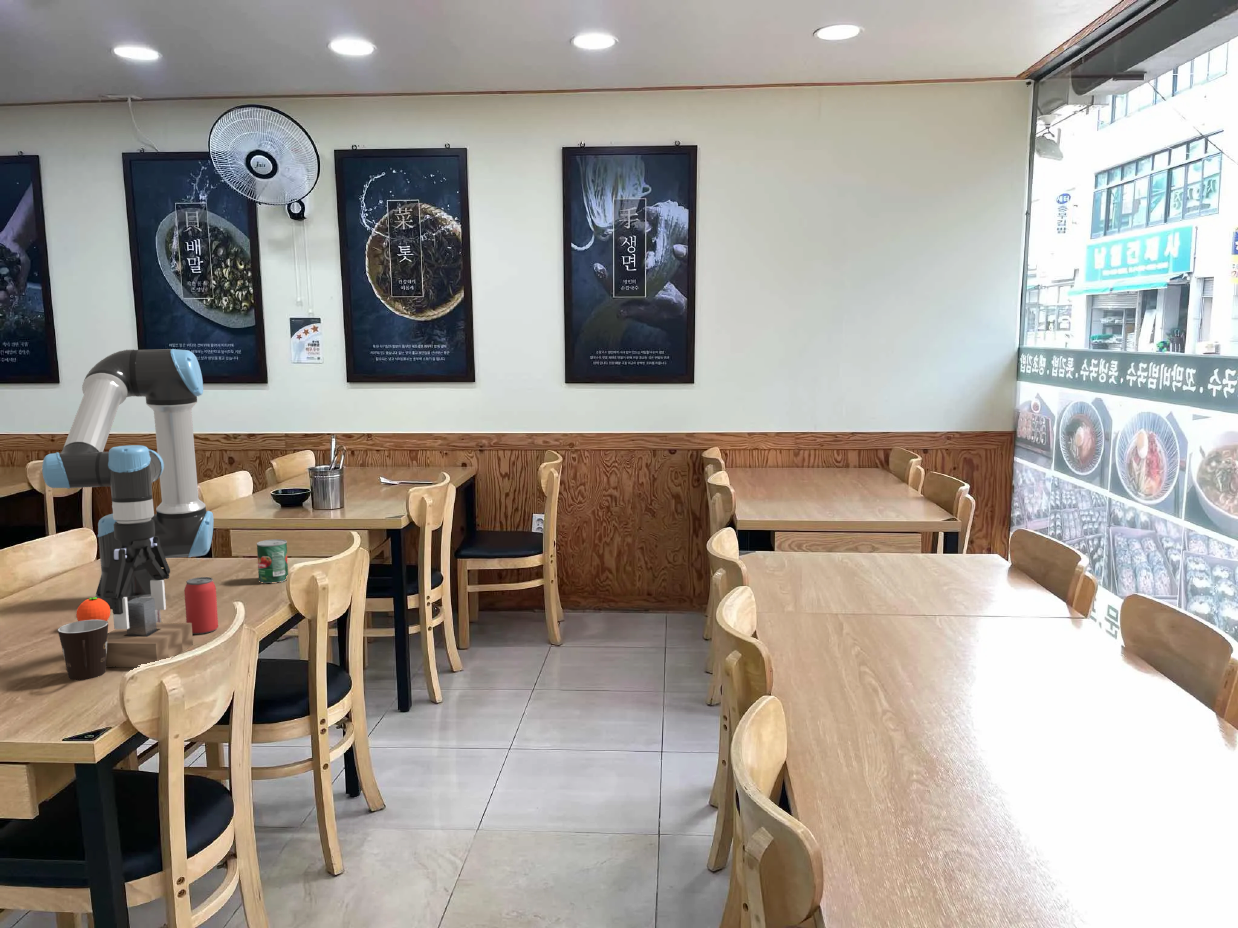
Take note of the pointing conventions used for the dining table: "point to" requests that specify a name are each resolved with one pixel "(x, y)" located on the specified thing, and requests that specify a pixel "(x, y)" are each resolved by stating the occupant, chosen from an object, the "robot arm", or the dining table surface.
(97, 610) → the clementine
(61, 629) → the coffee mug
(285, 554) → the canned tomato
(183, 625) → the socket block
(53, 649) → the dining table surface
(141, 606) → the square bit
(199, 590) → the beer can
